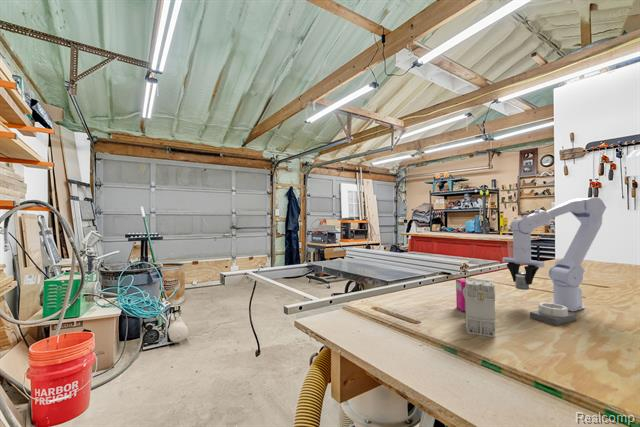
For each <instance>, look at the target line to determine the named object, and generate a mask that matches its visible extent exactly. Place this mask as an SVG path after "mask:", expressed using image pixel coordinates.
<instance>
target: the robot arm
mask: <svg viewBox="0 0 640 427" xmlns="http://www.w3.org/2000/svg"><path fill="white" fill-rule="evenodd" d="M606 208H607V206H606V205H605V203H604V201H603V200H602V199H601V198H600V197H597V196H593V197H585V198H572V199H570V200H567V201H565V202H563V203H561V204H558V205H557V206H554V207H552V208H550V209H548V210H543V209H535V210H534V211H533V212H532V213H530V214H524V215H522V218H515V219H513V220H512V221H511V223H510V224H509V229H510V230H511V232H512V240H513V242H512V246H513V247H512V249H513V254H512V255H513V257H507V256H505V257H502V260H501V261H502V263H506V267H507V269H508V271H509V272H510V274H511V277H512V281H513V283H515V273H516V272H520V268H521V267H520V266H521V265H522V266H523V267H524V272H525V273H526V283H527V284H528V285H529V286H530V285H532V284H533V281H534V278H535V275H536V273H537V272H538V270H539V268H541V269H542V268H545V261H538V260H533V259H532V243H531V242H532V237H531V236H532V233H533V231H534V230H535V229H538V228H540V227H542V226H545V225H546V224H549V223H550V222H551V219H554V218H556V217H559V216H561V215H565V214H567V213H571V214H572V215H573V216H574V217H575V218H576V220H578V221H579V223H580V225H579V227H578V229H577V231H576V233H575V235H574V236H573V238H572V241H571V243H570V245H569V246H568V248H567V251H566V253H565V254H564V256H563V258H561V259H560V260H558V261H555V263H554V265H553V266H551V267H550V268H549V270H548V277H549V278H550V279H551V280H552V282H551V283H553V284H552V285H553V304H558V305H563V306H565V307H567V308H568V312H569V311H570V312H575V311H576V312H577V311H580V310H584V309H585V308H586V306H583V293H582V289H581V288H580V285H581V284H582V283H583V280H584V274H585V269H584V268H583V266H582V263H583V261H584V259H585V258H586V256H587V254H588V252H589V249H590V248H591V246H592V244H593V241H594V240H595V238H596V236H597V234H598V233H599V231H600V229H601V226H602V224H603V216H604V215H603V214H604V213H605V211H606Z"/></svg>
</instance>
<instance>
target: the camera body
mask: <svg viewBox="0 0 640 427" xmlns="http://www.w3.org/2000/svg"><path fill="white" fill-rule="evenodd" d="M553 303H554V302H553ZM553 303H552V302H539V303H538V309H536V310H534V311H530V312H529V318H530V319H532V320H537V321H539V320H540V321H539V322H543V321H544V322H543V323H546V322H548V323H547V324H550V323H551V324H550V325H553V324H554V325H553V326H556V325H557V326H560V324H561V325H564V324H567V322H568V323H571V322H574V320H575V321H577V314H576V313H572V312H569V310H568V308H567V307H565V306H563V305H558V304H553ZM570 321H571V322H570ZM563 323H564V324H563Z"/></svg>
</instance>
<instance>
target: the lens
mask: <svg viewBox="0 0 640 427" xmlns="http://www.w3.org/2000/svg"><path fill="white" fill-rule="evenodd" d="M514 283H515V289H517V290H523V291H529V290H530V285H528V284H527V283H526V272H522V271H521V272H520V271H519V272H516V273H515V282H514Z"/></svg>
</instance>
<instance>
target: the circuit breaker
mask: <svg viewBox="0 0 640 427" xmlns="http://www.w3.org/2000/svg"><path fill="white" fill-rule="evenodd" d="M464 279H465V312H464V313H465V328H466V329H465V330H466V333H467V334H471V335H477V336H483V337H492V338H496V335H495V334H496V291H495V288H496V286H495V284H494V282H493V281H492V280H487V279H486V280H484V279H483V280H482V279H474V278H473V279H472V278H464Z"/></svg>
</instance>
